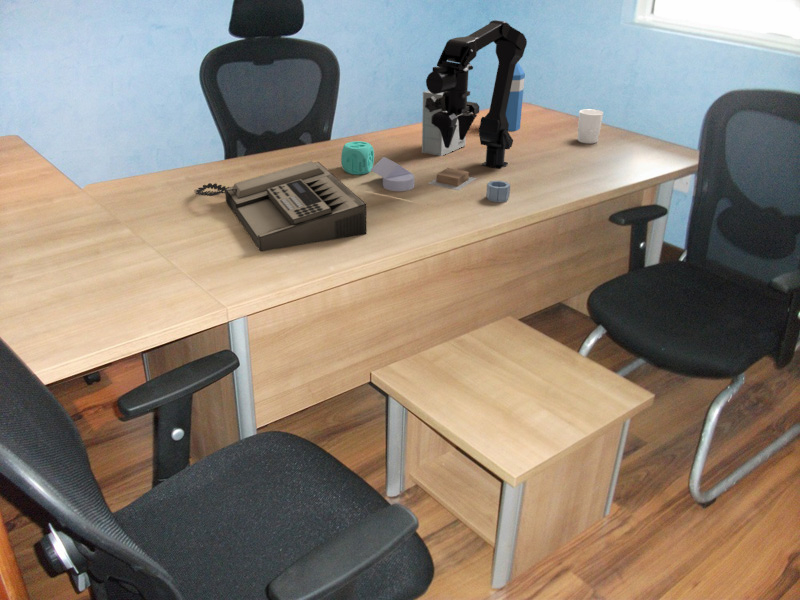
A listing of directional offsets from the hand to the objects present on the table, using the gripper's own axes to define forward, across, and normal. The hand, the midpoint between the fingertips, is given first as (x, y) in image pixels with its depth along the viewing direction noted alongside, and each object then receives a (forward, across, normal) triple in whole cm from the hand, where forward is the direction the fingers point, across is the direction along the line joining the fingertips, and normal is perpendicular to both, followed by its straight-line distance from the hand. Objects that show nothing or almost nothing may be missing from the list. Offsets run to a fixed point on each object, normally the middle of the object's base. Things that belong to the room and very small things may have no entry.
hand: (454, 143), depth 212 cm
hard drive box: (+12, -27, -17) cm, 34 cm away
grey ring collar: (+12, +6, +17) cm, 21 cm away
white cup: (+12, -63, +20) cm, 67 cm away
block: (+11, 0, 0) cm, 11 cm away
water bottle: (+12, -63, -10) cm, 65 cm away
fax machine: (+12, +46, -29) cm, 56 cm away
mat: (+12, 0, 0) cm, 12 cm away
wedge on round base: (+12, +11, -13) cm, 21 cm away
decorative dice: (+12, +6, -29) cm, 32 cm away
